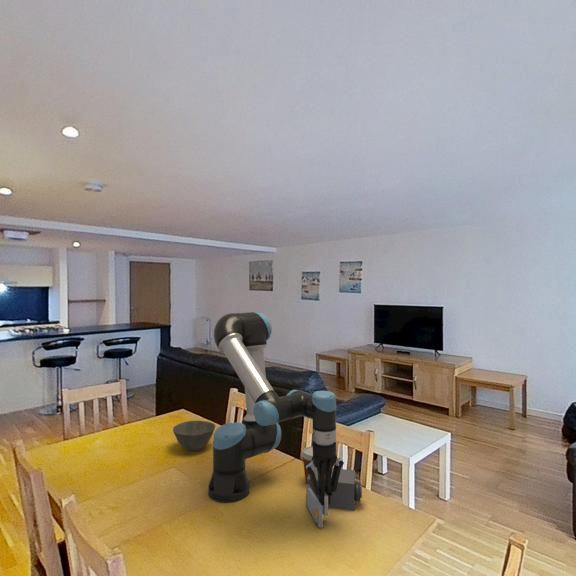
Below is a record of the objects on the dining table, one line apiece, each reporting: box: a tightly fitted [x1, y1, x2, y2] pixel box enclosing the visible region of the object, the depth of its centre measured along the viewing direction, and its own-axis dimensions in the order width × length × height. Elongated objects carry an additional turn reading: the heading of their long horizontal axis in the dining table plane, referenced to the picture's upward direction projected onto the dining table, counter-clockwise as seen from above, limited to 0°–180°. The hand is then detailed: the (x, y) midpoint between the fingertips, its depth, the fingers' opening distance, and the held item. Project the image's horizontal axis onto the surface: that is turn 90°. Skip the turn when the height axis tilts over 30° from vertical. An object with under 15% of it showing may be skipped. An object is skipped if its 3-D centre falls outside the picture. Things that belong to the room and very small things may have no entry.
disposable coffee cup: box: [301, 445, 315, 485], centre depth 152 cm, size 10×10×12 cm
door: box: [305, 484, 323, 528], centre depth 129 cm, size 13×2×7 cm, turn 16°
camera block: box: [306, 466, 363, 512], centre depth 140 cm, size 18×10×10 cm, turn 79°
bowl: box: [172, 420, 216, 452], centre depth 182 cm, size 19×19×10 cm
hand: (324, 513), depth 127 cm, fingers closed
